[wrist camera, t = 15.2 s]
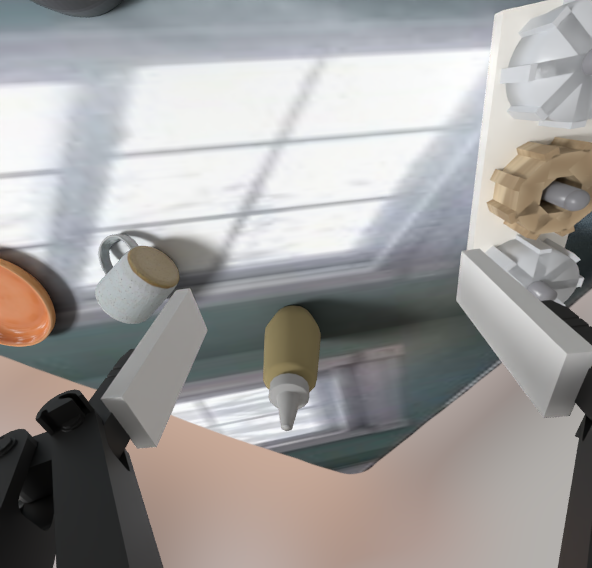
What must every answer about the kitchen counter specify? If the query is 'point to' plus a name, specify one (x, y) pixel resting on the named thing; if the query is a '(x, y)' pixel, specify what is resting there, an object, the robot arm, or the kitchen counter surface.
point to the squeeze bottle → (291, 360)
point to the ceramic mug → (134, 281)
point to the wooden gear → (542, 186)
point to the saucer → (23, 307)
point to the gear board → (534, 132)
